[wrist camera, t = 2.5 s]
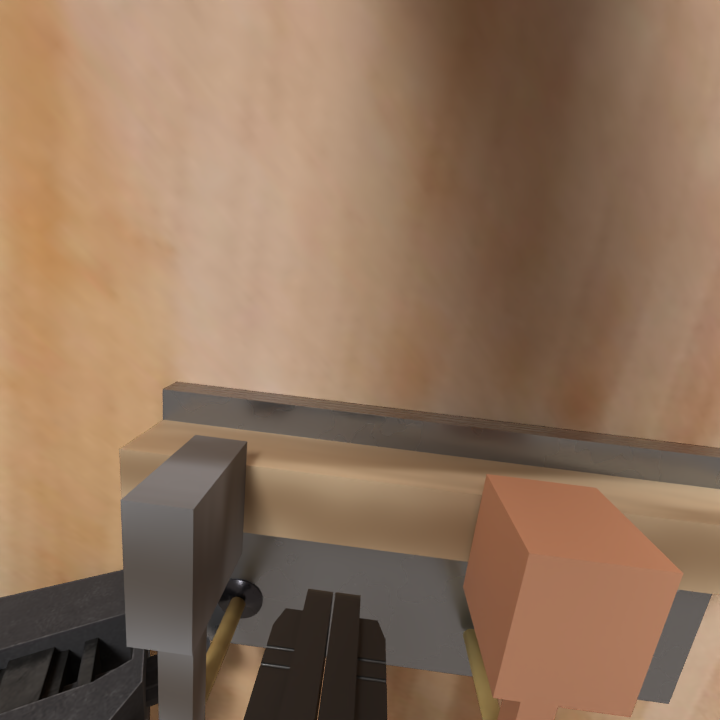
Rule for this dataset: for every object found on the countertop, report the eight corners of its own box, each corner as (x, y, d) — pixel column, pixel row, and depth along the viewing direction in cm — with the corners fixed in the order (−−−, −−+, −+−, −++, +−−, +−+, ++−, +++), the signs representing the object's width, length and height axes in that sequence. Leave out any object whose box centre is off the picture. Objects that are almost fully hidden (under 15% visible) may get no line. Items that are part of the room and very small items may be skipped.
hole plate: (176, 381, 18) (161, 389, 17) (737, 450, 18) (765, 464, 16) (177, 614, 21) (164, 635, 20) (652, 679, 21) (669, 705, 19)
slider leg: (468, 440, 16) (529, 553, 10) (558, 451, 16) (683, 573, 10) (430, 637, 19) (458, 836, 12) (508, 648, 19) (579, 854, 12)
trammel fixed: (162, 399, 17) (13, 485, 10) (759, 473, 16) (1041, 620, 9) (165, 596, 20) (45, 774, 13) (683, 666, 19) (861, 896, 12)
